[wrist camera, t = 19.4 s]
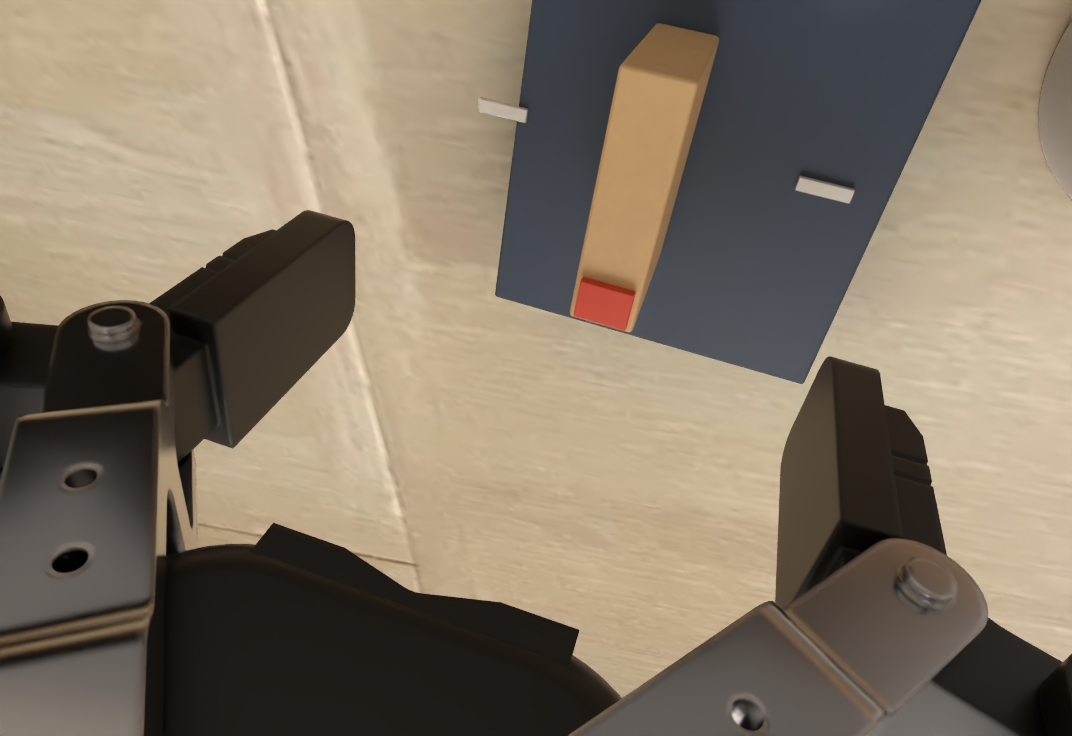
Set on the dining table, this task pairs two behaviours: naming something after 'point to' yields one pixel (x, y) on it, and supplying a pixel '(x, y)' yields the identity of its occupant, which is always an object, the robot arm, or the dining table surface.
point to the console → (730, 160)
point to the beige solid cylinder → (1058, 113)
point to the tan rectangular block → (641, 171)
